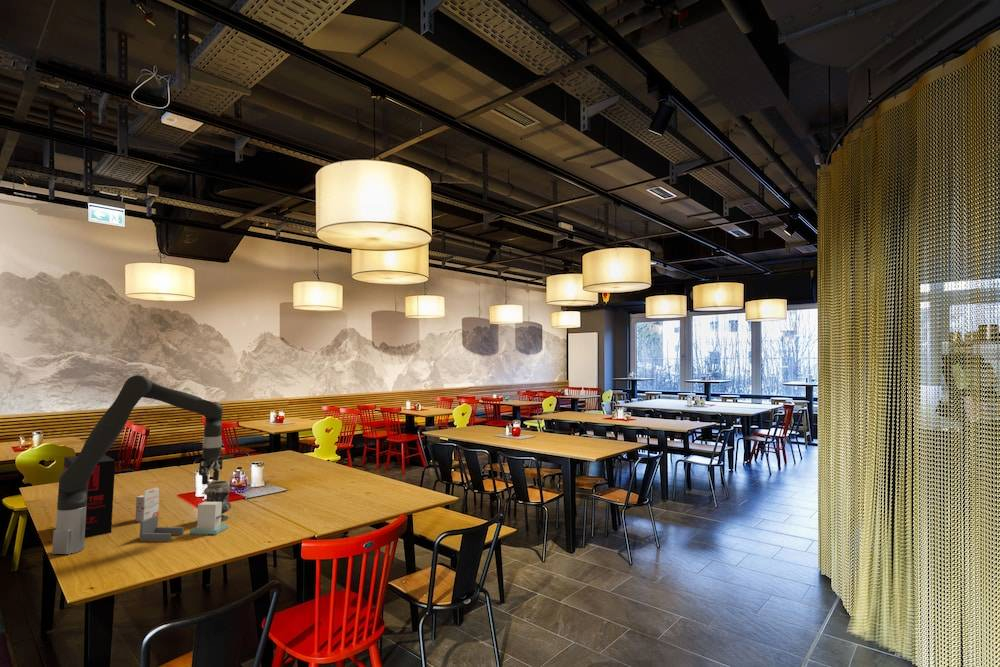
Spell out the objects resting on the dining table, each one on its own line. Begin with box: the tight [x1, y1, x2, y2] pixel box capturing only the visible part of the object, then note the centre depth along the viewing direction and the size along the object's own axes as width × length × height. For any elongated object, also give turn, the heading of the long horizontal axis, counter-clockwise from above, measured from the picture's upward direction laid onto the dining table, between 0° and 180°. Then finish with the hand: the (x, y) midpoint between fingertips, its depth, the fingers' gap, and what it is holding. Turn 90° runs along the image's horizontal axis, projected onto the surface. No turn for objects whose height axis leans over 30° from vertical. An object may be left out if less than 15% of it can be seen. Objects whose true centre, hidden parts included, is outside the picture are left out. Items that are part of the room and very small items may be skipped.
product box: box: [63, 454, 116, 538], centre depth 235 cm, size 26×14×32 cm, turn 48°
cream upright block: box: [196, 501, 223, 530], centre depth 233 cm, size 5×9×12 cm, turn 89°
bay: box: [139, 514, 185, 542], centre depth 224 cm, size 10×13×8 cm
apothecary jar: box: [203, 480, 232, 522], centre depth 251 cm, size 12×12×18 cm
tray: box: [189, 523, 229, 536], centre depth 233 cm, size 9×12×2 cm
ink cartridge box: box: [135, 486, 160, 522], centre depth 251 cm, size 9×5×15 cm, turn 168°
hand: (210, 482), depth 234 cm, fingers open, 8 cm apart
